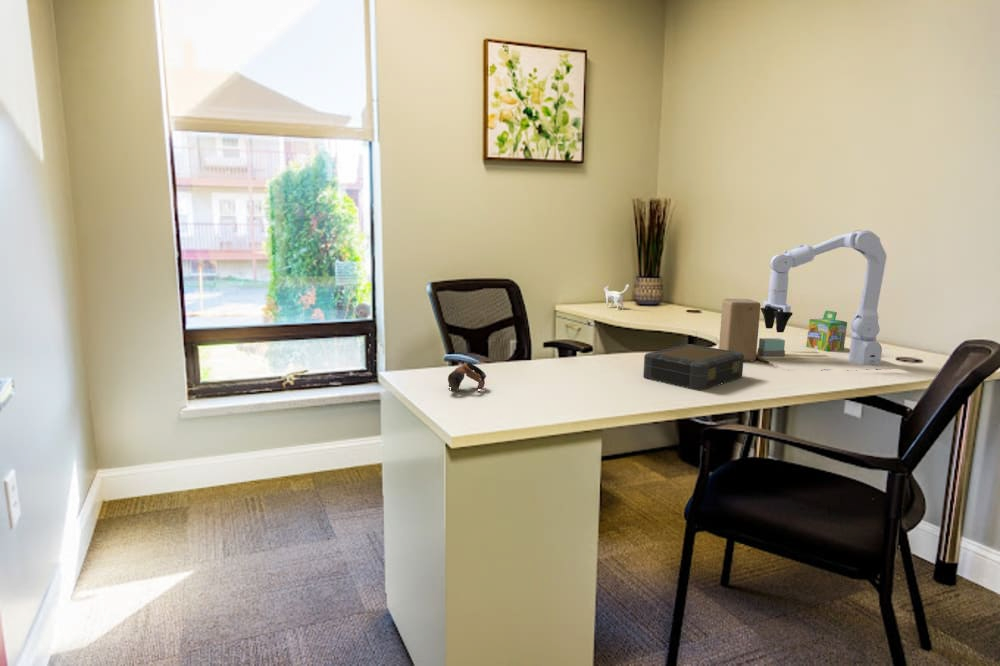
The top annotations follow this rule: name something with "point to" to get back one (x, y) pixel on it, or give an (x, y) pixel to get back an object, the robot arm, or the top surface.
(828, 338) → the chalk box
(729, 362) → the cash box
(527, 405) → the top surface
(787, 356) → the board
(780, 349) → the sanding block
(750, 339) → the wooden block
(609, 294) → the cat figurine
